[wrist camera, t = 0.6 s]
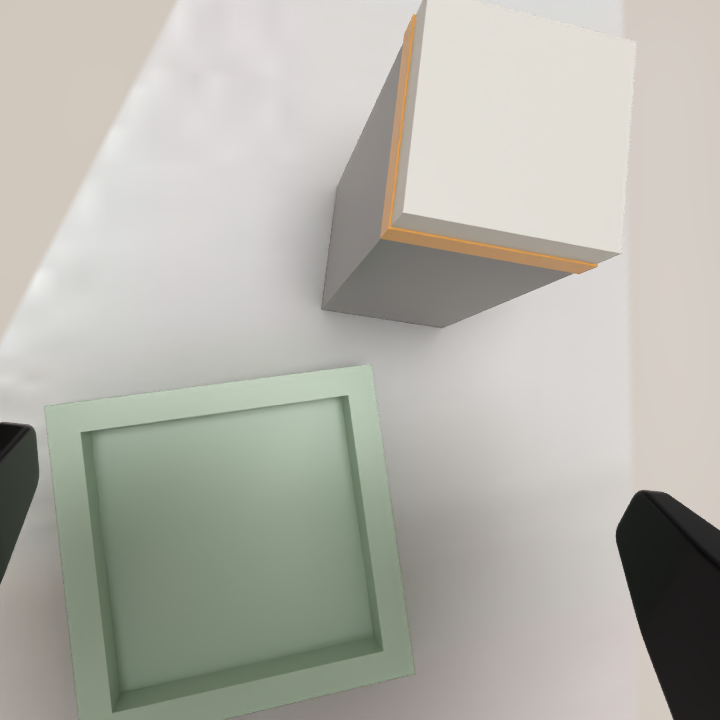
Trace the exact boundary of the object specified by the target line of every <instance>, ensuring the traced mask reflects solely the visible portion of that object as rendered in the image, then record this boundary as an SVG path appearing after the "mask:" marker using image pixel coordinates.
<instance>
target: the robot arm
mask: <svg viewBox="0 0 720 720" xmlns="http://www.w3.org/2000/svg"><path fill="white" fill-rule="evenodd" d="M38 479H39V463H38V451H37V440H36V433H35V430H34V428H33V427H32V426H30V425H28V424H19V423H10V422H1V423H0V584H1V581H2V579H3V576H4V574H5V571H6V569H7V566H8V563H9V561H10V558H11V555H12V552H13V550H14V547H15V544H16V542H17V539H18V536H19V534H20V531H21V528H22V526H23V523H24V520H25V518H26V515H27V512H28V510H29V507H30V504H31V501H32V499H33V496H34V493H35V491H36V488H37V484H38ZM616 543H617V547H618V550H619V554H620V558H621V562H622V565H623V569H624V573H625V577H626V580H627V584H628V588H629V591H630V595H631V599H632V603H633V606H634V610H635V614H636V617H637V621H638V624H639V627H640V631H641V634H642V637H643V640H644V642H645V645H646V648H647V651H648V653H649V656H650V659H651V661H652V664H653V667H654V669H655V672H656V674H657V677H658V680H659V683H660V685H661V688H662V691H663V693H664V696H665V698H666V701H667V704H668V706H669V709H670V712H671V714H672V717H673V720H720V530H719V529H717V528H716V527H714V526H713V525H711V524H710V523H708V522H707V521H706V520H704V519H703V518H701V517H700V516H699V515H697V514H696V513H694V512H693V511H691V510H690V509H689V508H687V507H686V506H684V505H683V504H682V503H680V502H679V501H677V500H675V499H674V498H673V497H672V496H670V495H669V494H667V493H664V492H658V491H649V490H641V491H638V492H637V493H636V494H635V495H634V496H633V498H632V500H631V502H630V504H629V505H628V507H627V509H626V511H625V513H624V515H623V517H622V518H621V520H620V522H619V524H618V526H617V530H616Z"/></svg>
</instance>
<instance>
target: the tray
mask: <svg viewBox="0 0 720 720" xmlns="http://www.w3.org/2000/svg"><path fill="white" fill-rule="evenodd" d="M44 408H45V417H46V426H47V435H48V445H49V454H50V463H51V472H52V481H53V490H54V500H55V509H56V518H57V527H58V536H59V545H60V555H61V564H62V573H63V582H64V591H65V600H66V609H67V619H68V628H69V637H70V646H71V655H72V664H73V674H74V683H75V692H76V701H77V710H78V719H79V720H224V719H229V718H233V717H237V716H241V715H245V714H250V713H254V712H258V711H262V710H266V709H270V708H275V707H279V706H283V705H287V704H291V703H295V702H300V701H304V700H308V699H312V698H316V697H320V696H325V695H329V694H333V693H337V692H341V691H346V690H350V689H354V688H358V687H362V686H366V685H371V684H375V683H379V682H383V681H387V680H391V679H396V678H400V677H404V676H408V675H412V674H415V669H414V662H413V655H412V648H411V641H410V634H409V627H408V620H407V613H406V605H405V598H404V591H403V584H402V577H401V570H400V563H399V556H398V549H397V542H396V535H395V528H394V520H393V513H392V506H391V499H390V492H389V485H388V478H387V471H386V464H385V457H384V450H383V443H382V435H381V428H380V421H379V414H378V407H377V400H376V393H375V386H374V379H373V372H372V365H371V364H368V365H360V366H352V367H344V368H337V369H329V370H321V371H313V372H306V373H298V374H290V375H282V376H275V377H267V378H259V379H251V380H244V381H236V382H228V383H220V384H213V385H205V386H197V387H189V388H182V389H174V390H166V391H158V392H151V393H143V394H135V395H127V396H120V397H112V398H104V399H96V400H89V401H81V402H73V403H65V404H58V405H50V406H44Z"/></svg>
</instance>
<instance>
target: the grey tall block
mask: <svg viewBox="0 0 720 720" xmlns="http://www.w3.org/2000/svg"><path fill="white" fill-rule="evenodd" d="M636 47H637V42H635V41H632V40H628V39H624V38H620V37H616V36H612V35H608V34H605V33H601V32H597V31H593V30H589V29H585V28H581V27H578V26H574V25H570V24H566V23H562V22H558V21H555V20H551V19H547V18H543V17H539V16H535V15H531V14H528V13H524V12H520V11H516V10H512V9H508V8H505V7H501V6H497V5H493V4H489V3H485V2H481V1H478V0H423V1H422V3H421V5H420V8H419V10H418V12H417V14H416V15H414V14H413V16H412V18H411V21H410V23H409V25H408V27H407V30H406V32H405V34H404V40H403V45H402V47H401V49H400V51H399V53H398V55H397V58H396V60H395V62H394V64H393V66H392V68H391V71H390V73H389V75H388V77H387V79H386V82H385V84H384V86H383V88H382V90H381V92H380V95H379V97H378V99H377V101H376V103H375V105H374V108H373V110H372V112H371V114H370V116H369V118H368V121H367V123H366V125H365V127H364V129H363V132H362V134H361V136H360V138H359V140H358V142H357V145H356V147H355V149H354V151H353V153H352V155H351V158H350V160H349V162H348V164H347V166H346V168H345V171H344V173H343V175H342V177H341V179H340V182H339V184H338V186H337V190H336V198H335V206H334V214H333V221H332V229H331V237H330V245H329V253H328V261H327V269H326V277H325V284H324V292H323V300H322V308H321V309H322V310H328V311H335V312H341V313H348V314H354V315H361V316H367V317H374V318H380V319H387V320H393V321H400V322H406V323H413V324H419V325H425V326H432V327H438V328H444V327H446V326H449V325H451V324H454V323H456V322H458V321H461V320H463V319H466V318H468V317H470V316H473V315H475V314H478V313H480V312H482V311H485V310H487V309H490V308H492V307H494V306H497V305H499V304H502V303H504V302H506V301H509V300H511V299H514V298H516V297H518V296H521V295H523V294H526V293H528V292H530V291H533V290H535V289H538V288H540V287H542V286H545V285H547V284H550V283H552V282H554V281H557V280H559V279H562V278H564V277H566V276H569V275H571V274H574V273H575V274H581V273H583V272H586V271H588V270H591V269H593V268H595V267H597V266H598V263H600V262H602V261H605V260H607V259H610V258H612V257H614V256H617V255H619V254H621V253H622V239H623V226H624V212H625V198H626V184H627V171H628V157H629V143H630V130H631V116H632V102H633V89H634V75H635V60H636Z"/></svg>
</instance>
